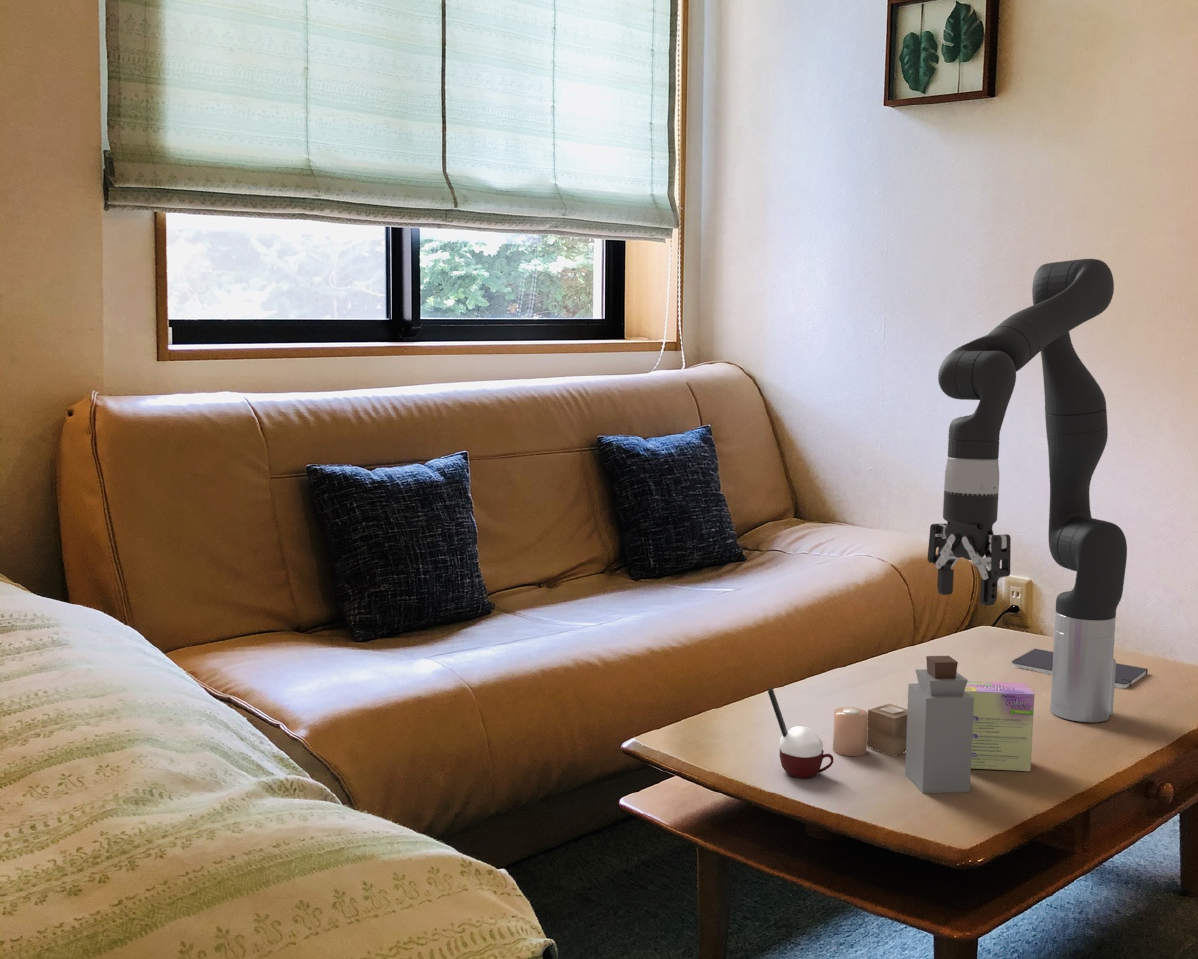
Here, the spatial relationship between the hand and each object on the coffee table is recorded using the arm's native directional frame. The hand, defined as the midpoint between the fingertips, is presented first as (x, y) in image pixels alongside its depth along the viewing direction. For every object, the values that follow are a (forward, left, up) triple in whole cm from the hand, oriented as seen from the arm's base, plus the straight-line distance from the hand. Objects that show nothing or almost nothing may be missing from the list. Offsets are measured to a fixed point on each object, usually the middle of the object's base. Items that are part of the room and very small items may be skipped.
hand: (965, 599), depth 163 cm
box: (-3, +3, -25) cm, 25 cm away
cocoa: (+24, -8, -25) cm, 35 cm away
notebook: (-56, -22, -25) cm, 66 cm away
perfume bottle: (+9, +4, -25) cm, 27 cm away
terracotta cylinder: (+11, -11, -25) cm, 29 cm away
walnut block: (+5, -9, -25) cm, 27 cm away
